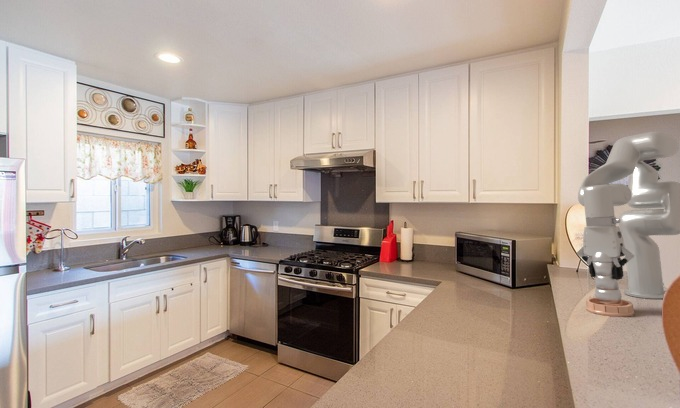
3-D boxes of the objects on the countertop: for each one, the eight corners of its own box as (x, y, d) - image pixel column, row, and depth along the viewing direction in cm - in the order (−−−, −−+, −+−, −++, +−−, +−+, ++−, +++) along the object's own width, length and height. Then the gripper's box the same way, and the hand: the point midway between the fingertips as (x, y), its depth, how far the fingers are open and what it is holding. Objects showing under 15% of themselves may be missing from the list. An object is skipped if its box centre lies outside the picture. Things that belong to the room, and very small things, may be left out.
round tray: (597, 304, 114) (596, 295, 114) (641, 311, 103) (640, 302, 103) (578, 310, 108) (578, 301, 108) (623, 319, 98) (622, 309, 98)
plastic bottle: (627, 306, 102) (620, 242, 103) (603, 306, 103) (596, 243, 104) (614, 300, 108) (608, 240, 109) (591, 301, 110) (585, 241, 111)
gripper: (639, 221, 101) (645, 279, 101) (577, 222, 117) (582, 273, 116) (627, 222, 98) (634, 283, 97) (565, 223, 113) (571, 276, 112)
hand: (606, 277), depth 106 cm, fingers closed on plastic bottle, 6 cm apart
